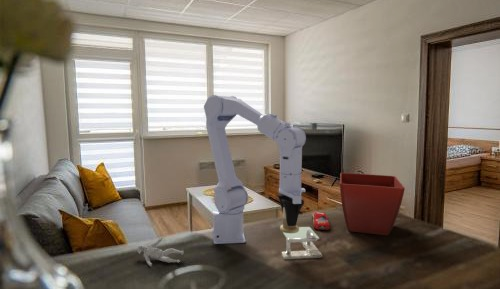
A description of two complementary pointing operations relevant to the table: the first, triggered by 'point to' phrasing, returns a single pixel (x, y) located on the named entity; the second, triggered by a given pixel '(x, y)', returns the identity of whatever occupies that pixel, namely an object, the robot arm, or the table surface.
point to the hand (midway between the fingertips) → (289, 222)
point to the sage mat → (300, 233)
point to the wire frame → (307, 244)
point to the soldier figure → (157, 253)
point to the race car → (320, 221)
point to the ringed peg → (285, 227)
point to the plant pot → (370, 202)
